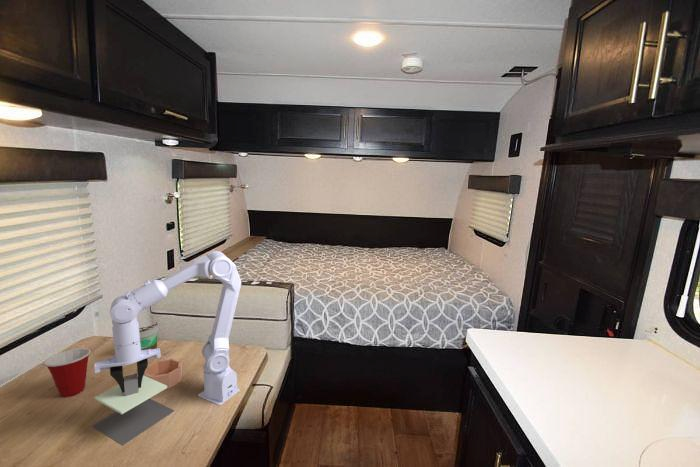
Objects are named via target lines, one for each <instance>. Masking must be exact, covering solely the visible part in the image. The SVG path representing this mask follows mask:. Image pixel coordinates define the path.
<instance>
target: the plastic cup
mask: <svg viewBox="0 0 700 467" xmlns="http://www.w3.org/2000/svg"><path fill="white" fill-rule="evenodd" d="M91 352H92V351H91V349H90V348H84V347H82V348H74V349H69V350H65V351H63V352H60V353H57V354H54V355H52V356H50V357H48V358H47V359H46V360H44V362H43V363H44V364H43V365H44V366H46V367H47V369H48V370H49V373H50V374H51V377H52V379H53V382H54V385H55V387H56V388H57V390H58V394H59V395H60V396H61V397H62V398H69V397H73V396H77V395H78V394H80V393H82V392H83V391H84V390H85V388H86V379H87V372H88V363H89V357H90V354H91Z"/></svg>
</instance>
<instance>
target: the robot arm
mask: <svg viewBox="0 0 700 467" xmlns="http://www.w3.org/2000/svg"><path fill="white" fill-rule="evenodd" d="M210 274H211V275H212V276H213V277H214V278H216V279H217V280H219V281H220V282H221V283H222V288H221V292H220V296H219V300H218V301H219V302H218V305H217V309H216V314H215V318H214V322H213V325H212V330H211V334H210V335H208V338H207V342H206V343H205V344H204V345H203V347H202V350H201V354H202V356H203V358H204V361H205V362H204V363H203V364H204V365H203V368H202V370H203V371H202V372H203V386H204V389H203V391H201V392H200V393H198V394H197V395H198V397H199V398H201V399H204V400H207V401H209V402H210V403H213V404H216V405H218V406H222V405H223V404H224V403H225V402H227V401H228V400H229V399H231V398H232V397H234V396H235V395H236V394H238V393H239V392H240V389H239V388H238V374H237V372H236V371H235V370H234V369H232V368H231V367H230V361H231V360H230V356H229V352H230V342H229V338H230V334H231V330H232V326H233V321H234V317H235V312H236V308H237V303H238V300H239V295H240V290H241V287H242V279H241V276H240V274H239V272H238V268H237V265H236V264H235V263H234V262H233V261H232V259H230V258H228V257H227V255H226V254H224V253H223V252H222V251H219V250H213V251H211V252H209V253H207V255H206V254H204V255H202V256H200V257H198V258H197V259H195V260H194V261H192V262H190V263H189V264H187V265H185V266H184V267H182V268H181V269H179V270H177V271H176V272H173V273H171V274H170V275H169V276H167V277H165V278H164V279H152V280H150V279H148V280H146V281H143V285H141V286H139V287H138V288H136V289H133V290H132V291H126V292H125V294H124V295H123V294H122V295H119V296H117V297H116V298H114V299H113V301H111V304H110V309H109V316H110V318H111V320H112V321H111V324H112V329H111V330H112V338H113V349H114V356H112V357H109V358H107V359H104V360H101V361H97V362H94V364H93V368H94V374H98V373H100V372H101V371H106V370H109V375H110V376H111V378H113V379H114V381H116V382H117V384H118V385H119V386H120V388H121V391H122V393H123V392H125V389H124V370H123V367H124V366H129V365H132V364H135V363H136V370H137V376H138V388H141V383H142V378H143V375H144V372H145V370H146V368H147V366H148V365H149V363H148V360H150V359H155V358H156V359H159V358H160V359H161V357H162V355H161V348H160V347H157V349H149V350H141V344H140V333H139V328H140V324H139V321H138V314H139V312H142V311H144V310H146V309H149V308H150V307H151V306H153V305H154V304H157V303H158V302H161V301H162V300H163V299H165V298H167V295H168V293H169V291H171V290H172V289H175V288H176V287H179V286H181V285H182V284H184V283H186V282H188V281H190V280H192V279H194V278H197V277H202V278H210Z"/></svg>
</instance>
